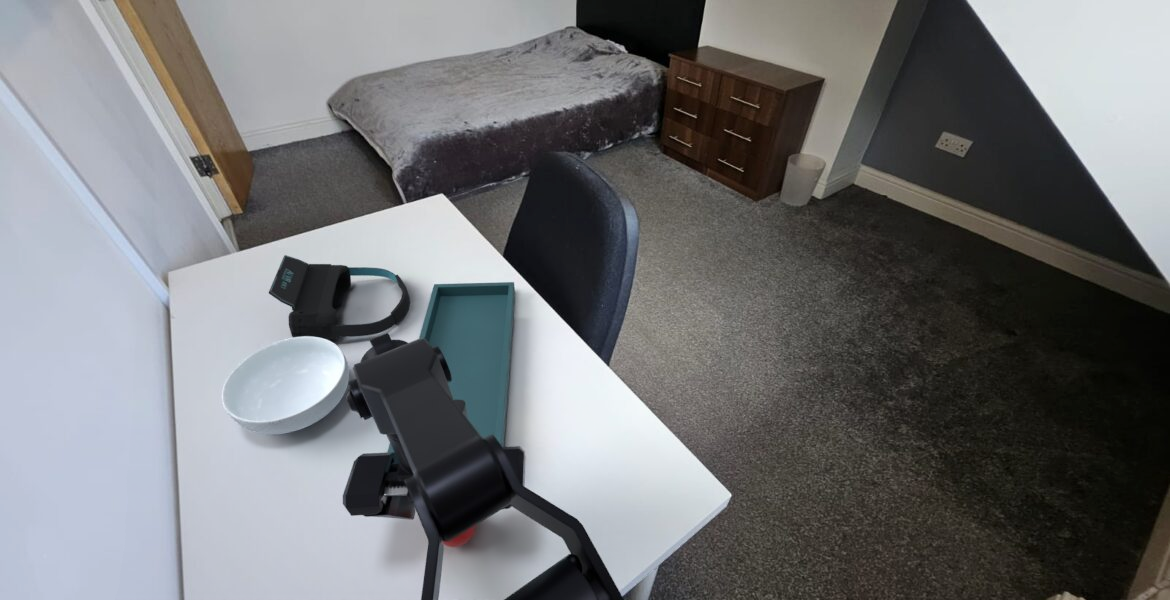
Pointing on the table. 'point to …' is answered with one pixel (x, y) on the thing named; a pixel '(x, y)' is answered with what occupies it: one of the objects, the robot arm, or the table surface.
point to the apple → (461, 538)
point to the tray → (474, 348)
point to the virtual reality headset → (327, 298)
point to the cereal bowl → (286, 385)
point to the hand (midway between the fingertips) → (451, 513)
